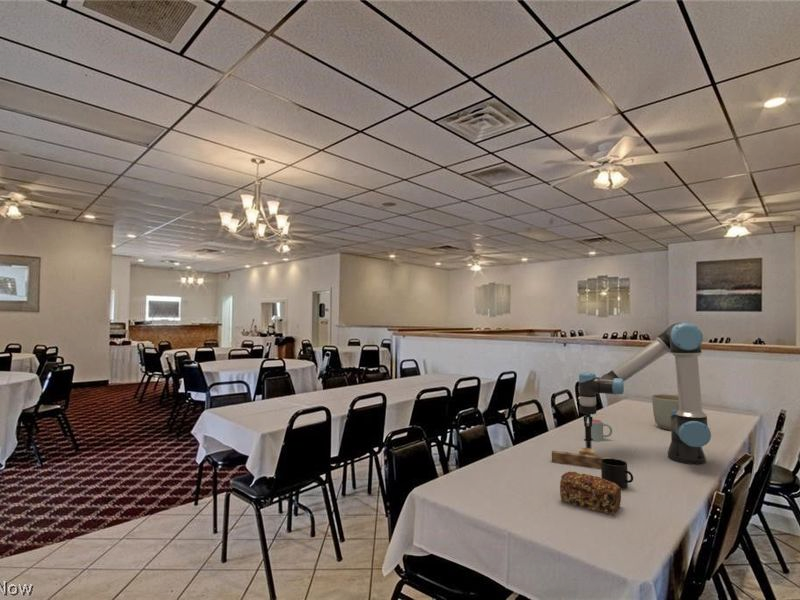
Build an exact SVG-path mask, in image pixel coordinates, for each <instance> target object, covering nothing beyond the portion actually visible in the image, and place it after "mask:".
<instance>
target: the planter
mask: <svg viewBox="0 0 800 600" xmlns="http://www.w3.org/2000/svg"><path fill="white" fill-rule="evenodd" d="M651 400H652V401H651V402H652V412H653V419H654V422H655V424H656V425H657V426H658V427H659V428H660V429H663V430H666V431H670V432H671V417H670V415H671V411H672V410H679V400H678V394H677V395H676V394H663V393H662V394H661V393H660V394H653V395H652V396H651Z"/></svg>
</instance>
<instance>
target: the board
mask: <svg viewBox="0 0 800 600" xmlns="http://www.w3.org/2000/svg"><path fill="white" fill-rule="evenodd" d="M607 458H608V457H606V456H599V455H594V456H592V455H587V454H586V455H584V454H579V453H574V452H566V451H558V450H552V451H551V463H554V464H555V463H556V464H562V465H569V466H570V465H571V466H575V467H576V466H577V467H584V468H590V469H591V468H592V469H599V470H601V460H602V459H607ZM610 458H611V459H615V458H614V457H610Z"/></svg>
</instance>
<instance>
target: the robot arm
mask: <svg viewBox="0 0 800 600" xmlns="http://www.w3.org/2000/svg"><path fill="white" fill-rule="evenodd" d="M703 339H704V336H703V333H702V331H701V329H700V328H699V327H698V326H696V325H695V324H693V323H690V322H677V323H674V324H670V325H669V326H668V327H667V328H666V329H665V330H664V331H662V332H661V333H660V334H659V335H657V336H656V337H655V340H654V341H652V342H651V343H650V344H648V345H647V346H645V347H644V348H642V349H641V350H639V351H638V352H636V353H635V354H634V355H632V356H630V357H629V358H627V359H626V360H625V361H623V362H622V363H620V364H619V365H617V366H616V367H615V368H613V369H612V370H610V371H609V372H607V373H605V374H603V375H601V377H597V376H596V373H594V372H588V371H587V372H580V373H579V374H578V392H579V394H578V396H579V397H578V398H577V399H578V401H579V410H578V411H579V413H580V414H584V416H583V425H584V436H585V435H586V438H585V437H584V438H583V441H585V448H589V449H593V447H592V446H593V445H592V443H593V441H592V440H593V439H592V438H591V437H592V436H591V427H592V419H593V416H592V415H596V414H597V406H596V405H597V394H606V395H607V394H608V395H623V394H624V393H625V392H624V389H625V387H624V385H625V384H624V383H625V381H627V380H629V379H630V378H632V377H633V376H634V375H636V374H638V373H639V372H641V371H643V370H644V369H645V368H647V367H648V366H650V365H651V364H653V363H654V362H655V361H657V360H658V359H660V358H661V357H663V356H665V355H666V354H669V353H670V354H672V355H673V356H674V360H675V370H676V371H675V373H676V383H677V384H676V386H677V387H676V388H677V395H678V400H679V410H672V411H671V415H670V417H671V431H670V433H671V434H670V437H671V441H670V443H669V447H668V450H667V458H668V459H669V460H671V461H674V462H677V463H682V464H687V465H696V466H697V465H704V464H707V458H706V455H705V453H704V449H703V447H705V446H706V445H707V444H709V443H710V441H711V439H712V433H711V429H710V428H709V427H708V425H709V424H708V415H707V414H706V413H705V412H704V411H703V403H702V393H701V391H702V390H701V379H700V378H701V377H700V368H699V366H700V365H699V356H701V354H702V353H703V352H702V344H703V341H704V340H703Z"/></svg>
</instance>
